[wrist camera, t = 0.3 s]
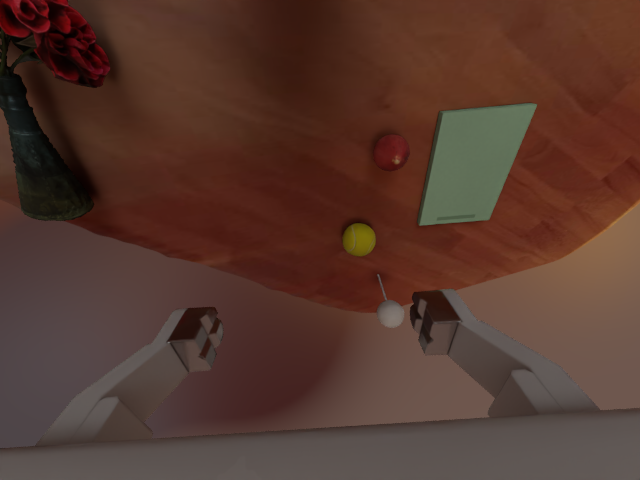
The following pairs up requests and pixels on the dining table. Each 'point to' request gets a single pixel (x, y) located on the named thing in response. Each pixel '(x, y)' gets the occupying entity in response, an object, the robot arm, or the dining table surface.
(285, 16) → the dining table surface
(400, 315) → the lollipop
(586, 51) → the dining table surface
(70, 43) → the carnation
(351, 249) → the tennis ball
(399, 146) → the onion
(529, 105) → the cutting board
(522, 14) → the dining table surface
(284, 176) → the dining table surface
